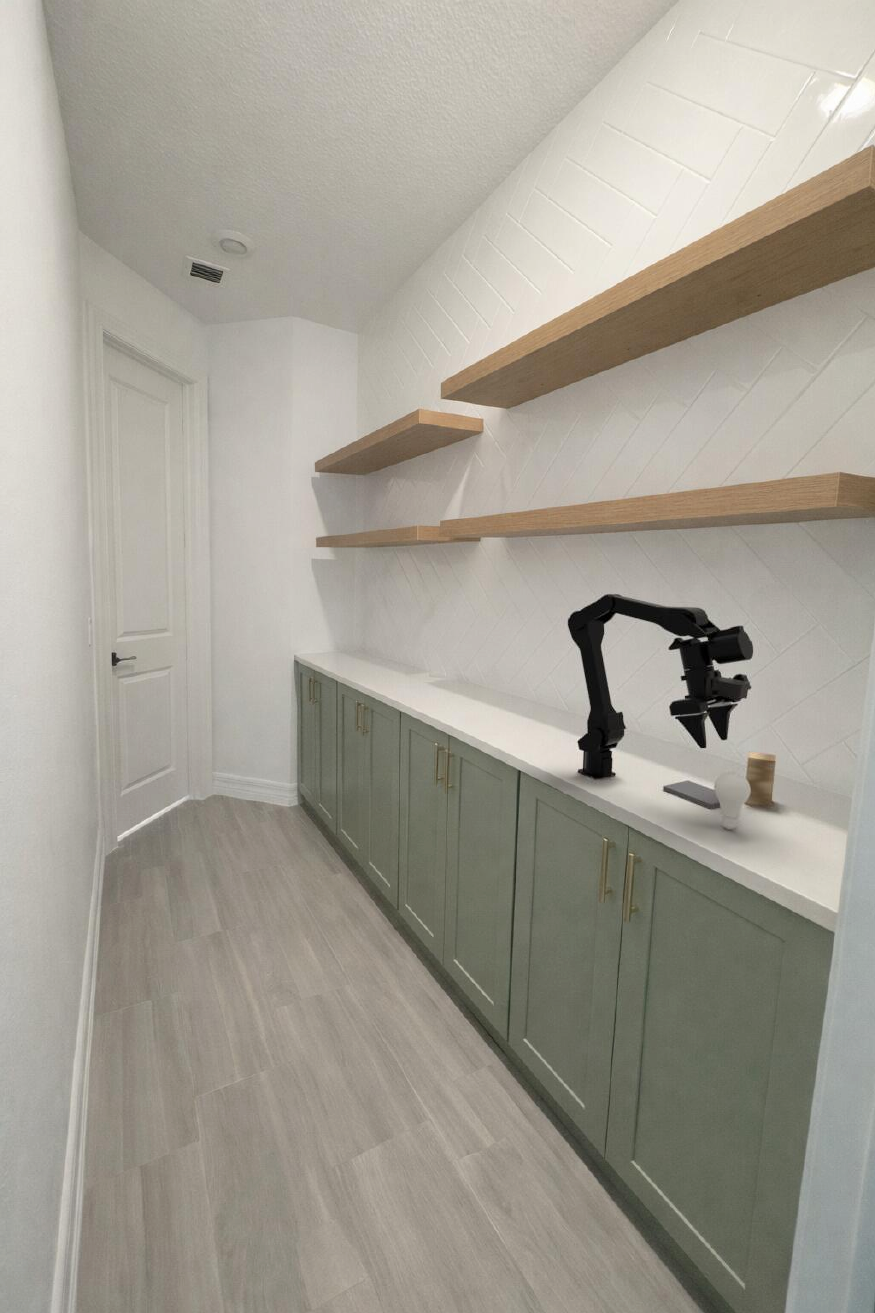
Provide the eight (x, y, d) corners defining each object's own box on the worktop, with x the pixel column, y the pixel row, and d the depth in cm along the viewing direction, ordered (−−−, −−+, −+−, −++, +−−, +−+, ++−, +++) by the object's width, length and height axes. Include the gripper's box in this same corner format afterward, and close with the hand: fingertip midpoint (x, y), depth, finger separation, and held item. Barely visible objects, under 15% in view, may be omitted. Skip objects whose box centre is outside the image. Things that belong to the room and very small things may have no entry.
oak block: (744, 803, 125) (747, 757, 124) (745, 796, 130) (748, 751, 128) (771, 808, 123) (775, 761, 122) (771, 800, 127) (775, 755, 126)
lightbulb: (727, 837, 109) (732, 779, 107) (703, 824, 115) (708, 768, 113) (754, 834, 110) (759, 776, 109) (730, 820, 116) (734, 766, 115)
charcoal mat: (663, 790, 133) (663, 786, 132) (687, 784, 136) (687, 780, 136) (710, 809, 122) (711, 804, 122) (735, 802, 126) (735, 797, 126)
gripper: (716, 666, 110) (734, 750, 109) (758, 657, 122) (774, 733, 121) (661, 674, 118) (676, 753, 117) (705, 666, 130) (719, 737, 129)
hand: (714, 744), depth 121 cm, fingers open, 9 cm apart
